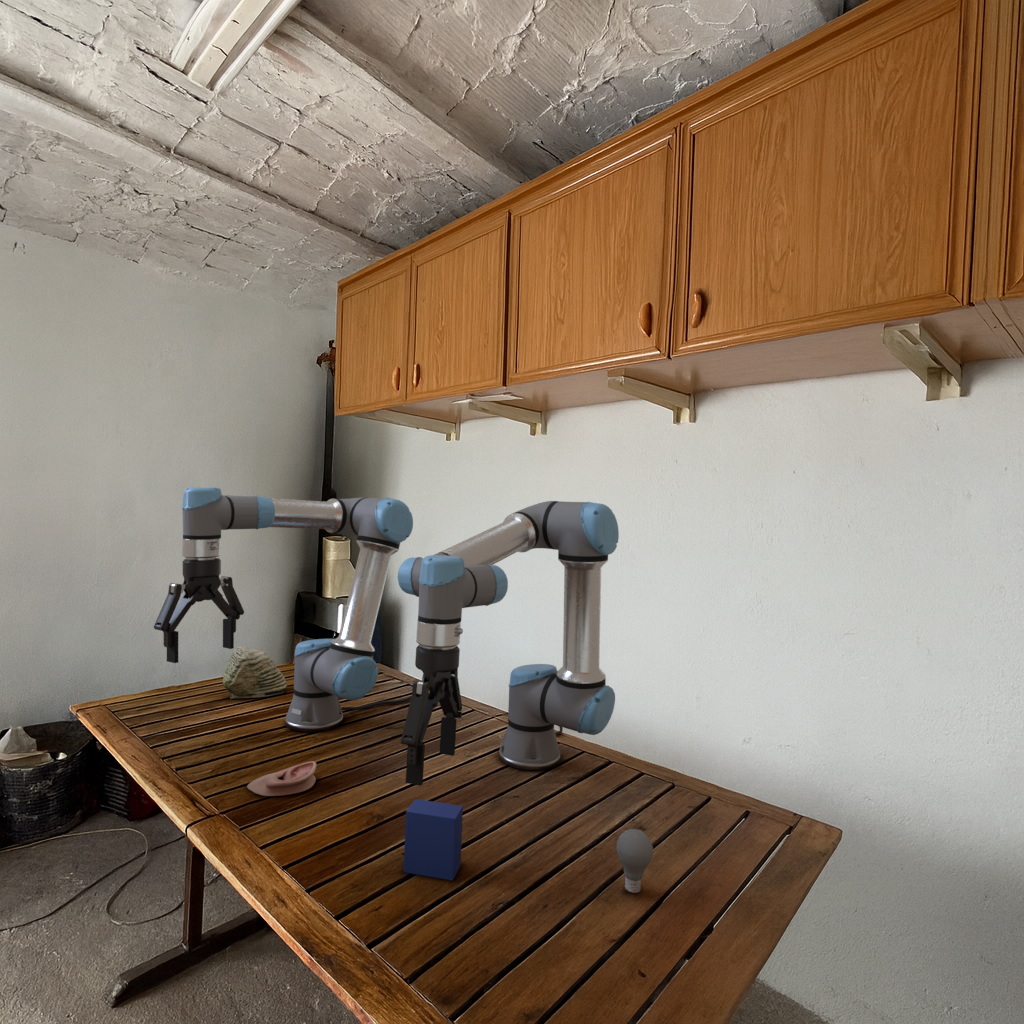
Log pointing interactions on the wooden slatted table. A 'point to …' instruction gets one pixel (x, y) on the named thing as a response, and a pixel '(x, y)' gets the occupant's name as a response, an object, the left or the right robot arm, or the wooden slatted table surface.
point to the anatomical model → (285, 781)
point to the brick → (433, 839)
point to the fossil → (252, 674)
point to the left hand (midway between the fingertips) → (201, 654)
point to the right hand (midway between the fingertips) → (431, 768)
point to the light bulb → (634, 857)
